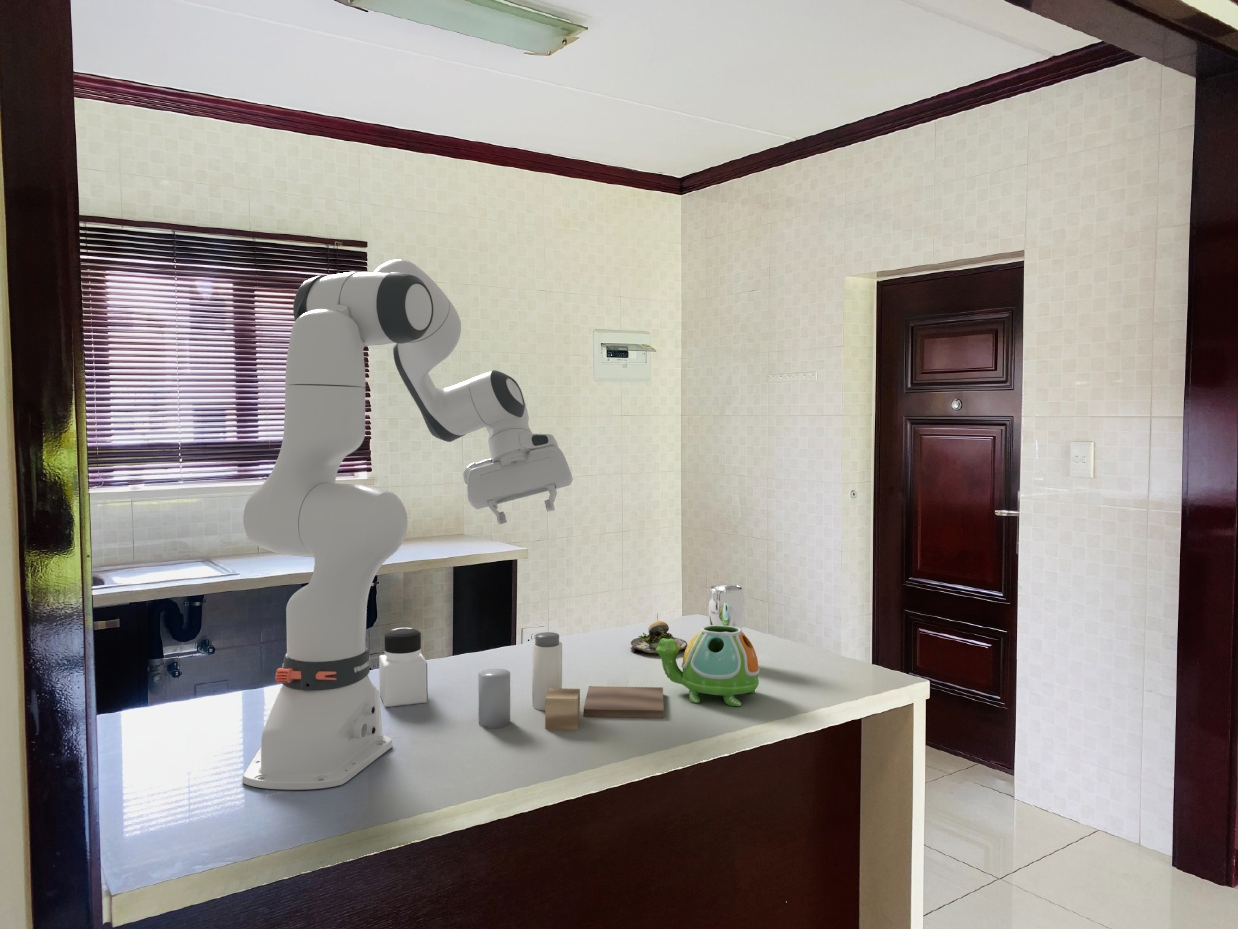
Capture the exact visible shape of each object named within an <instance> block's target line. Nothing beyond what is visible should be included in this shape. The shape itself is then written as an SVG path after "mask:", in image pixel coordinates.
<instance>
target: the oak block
mask: <svg viewBox="0 0 1238 929" xmlns="http://www.w3.org/2000/svg"><path fill="white" fill-rule="evenodd" d="M544 713H545V714H544V715H545V716H544V717H545V718H544V720H545V722H544V723H545V726H544V727H545V728H544V729H545V730H566V731H568V730H573V731H575V730H576V731H577V730H578V728H579V723H580V720H581V688H563V687H562V688H549V690H548V692H547V695H546V698H545V712H544Z"/></svg>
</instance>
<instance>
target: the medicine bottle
mask: <svg viewBox="0 0 1238 929" xmlns="http://www.w3.org/2000/svg"><path fill="white" fill-rule="evenodd" d="M421 634H422V633H421V632H420V630H418V629H416V628H413V627H398V628H393V629H391V630H389V631H386V633H385V634H384V635H383V636H384V654H380V655H379V658H378V662H379V664H378V666H379V667H378V668H379V669H378V670H379V677H378V678H379V694H380V699H381V700H382V703H383V705H384V707H385V708H391V707H401V706H409V705H416V704H417V705H418V704H425V703H426V704H427V702H428V661H427V660H426V658H425V656H423V654H422V635H421Z"/></svg>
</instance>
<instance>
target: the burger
mask: <svg viewBox="0 0 1238 929" xmlns="http://www.w3.org/2000/svg"><path fill="white" fill-rule="evenodd" d="M656 618H657V621H654V622H653V623H651V624H650V625H649V626H648V628H647V629H648V630H647V632H648V634H646V633H644V632H642V634H643V635H638V637H637V638H634V639H632V640H631V641H630V644H631V645H630V646H631V647H630V652H631V653H632V654H635V650H638V651H641V652H645V653H646V654H647V653H648V654H658V653H657V651H656V648H658V644H659V642H660V640H661V639H662V638H665V639H673V640H675V641H676V643H677V646H678V648H679V651H682V650H683V649H684V650H686V648H687V645H688V642H687V641H686V640H685V639H681V638H678V637H674V636H673V635H672V633H670V632H668V631H669V629H670V627H669V625H668V623H666V622H665V621H662V620H659V618H658V614H657V616H656ZM658 620H659V621H658Z"/></svg>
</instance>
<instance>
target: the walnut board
mask: <svg viewBox="0 0 1238 929" xmlns="http://www.w3.org/2000/svg"><path fill="white" fill-rule="evenodd" d="M587 688H588V689H587V693H586V697H585V701H584V706H583V714H582V715H583V717H593V718H594V717H598V718H599V717H602V718H603V717H604V718H605V717H606V718H649V719H650V718H654V719H655V718H658V719H660V718H661V719H663V718H664V715H665V714H664V712H665V710H664V687H658V686H657V687H653V686H601V685H600V686H598V685H596V686H594V685H593V686H592V685H591V686H588V687H587Z"/></svg>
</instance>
